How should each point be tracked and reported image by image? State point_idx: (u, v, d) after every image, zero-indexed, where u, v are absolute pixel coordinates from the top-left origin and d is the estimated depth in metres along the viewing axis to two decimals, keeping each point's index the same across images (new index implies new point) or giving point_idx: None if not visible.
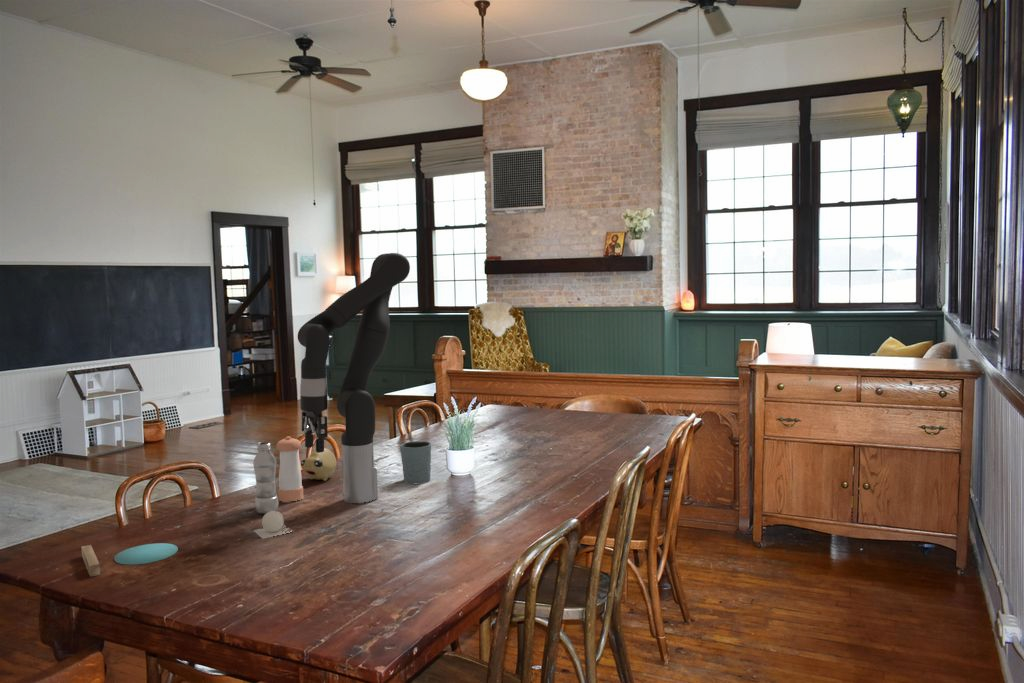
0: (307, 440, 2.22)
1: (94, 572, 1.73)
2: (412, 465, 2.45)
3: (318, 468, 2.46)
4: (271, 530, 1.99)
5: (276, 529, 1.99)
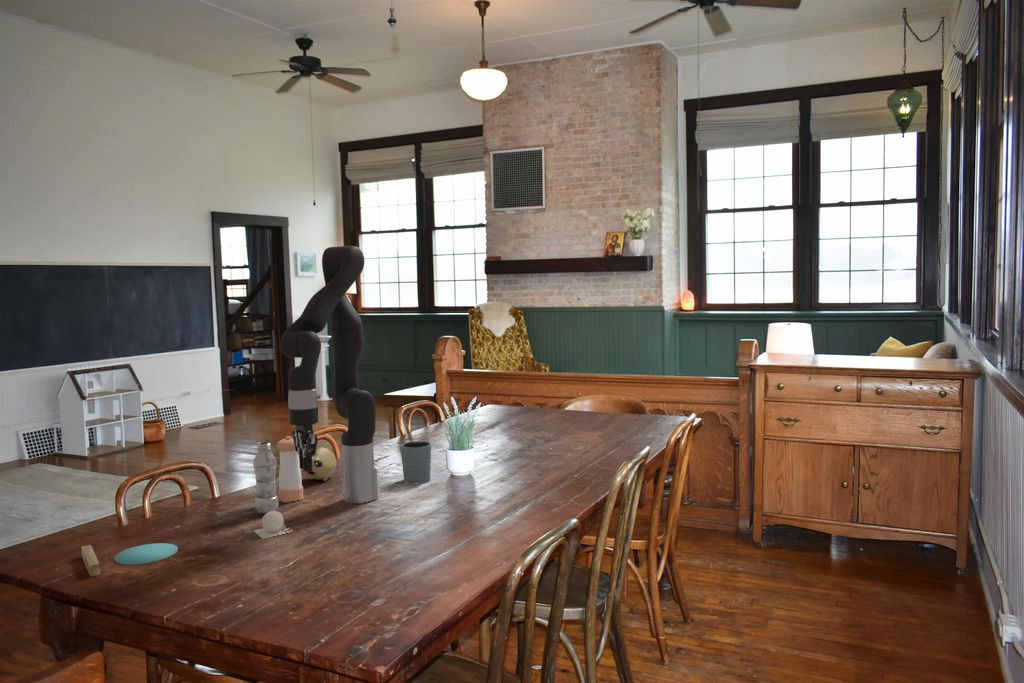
0: (302, 461, 2.05)
1: (94, 572, 1.73)
2: (412, 465, 2.45)
3: (318, 468, 2.46)
4: (271, 530, 1.99)
5: (276, 529, 1.99)
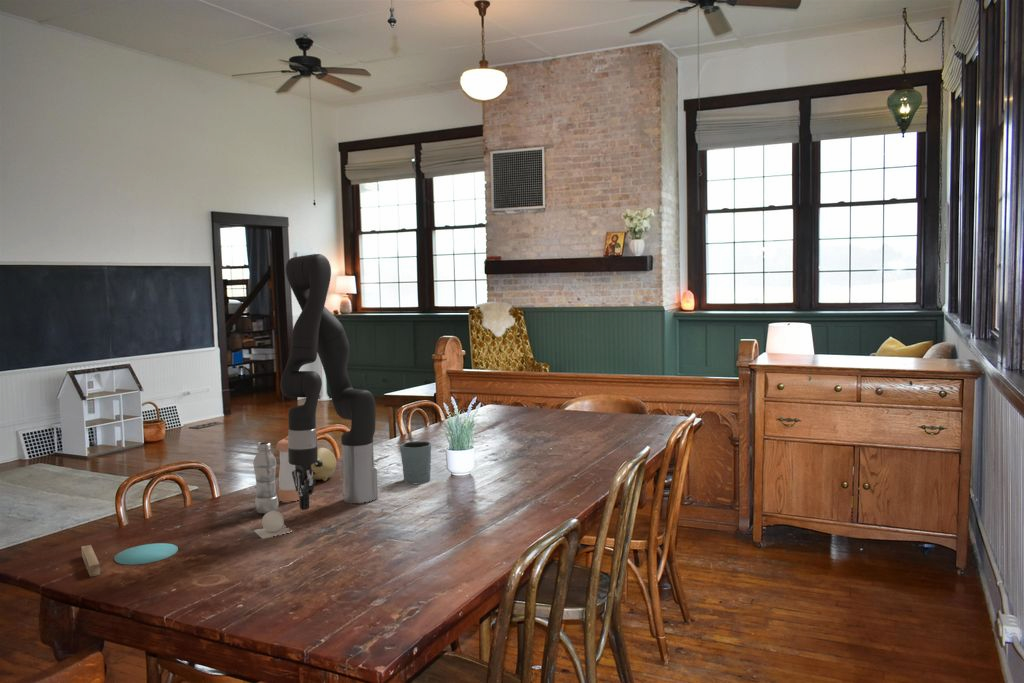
0: None
1: (94, 572, 1.73)
2: (412, 465, 2.45)
3: (318, 468, 2.46)
4: (271, 530, 1.99)
5: (276, 529, 1.99)
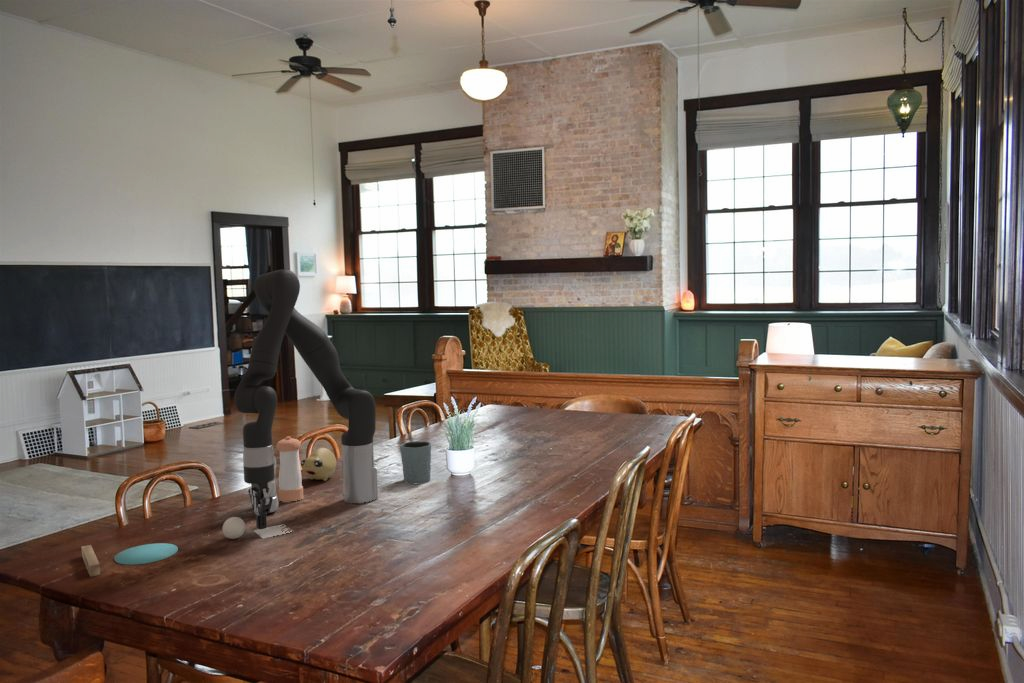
0: None
1: (94, 572, 1.73)
2: (412, 465, 2.45)
3: (318, 468, 2.46)
4: (238, 522, 1.95)
5: (233, 524, 1.94)
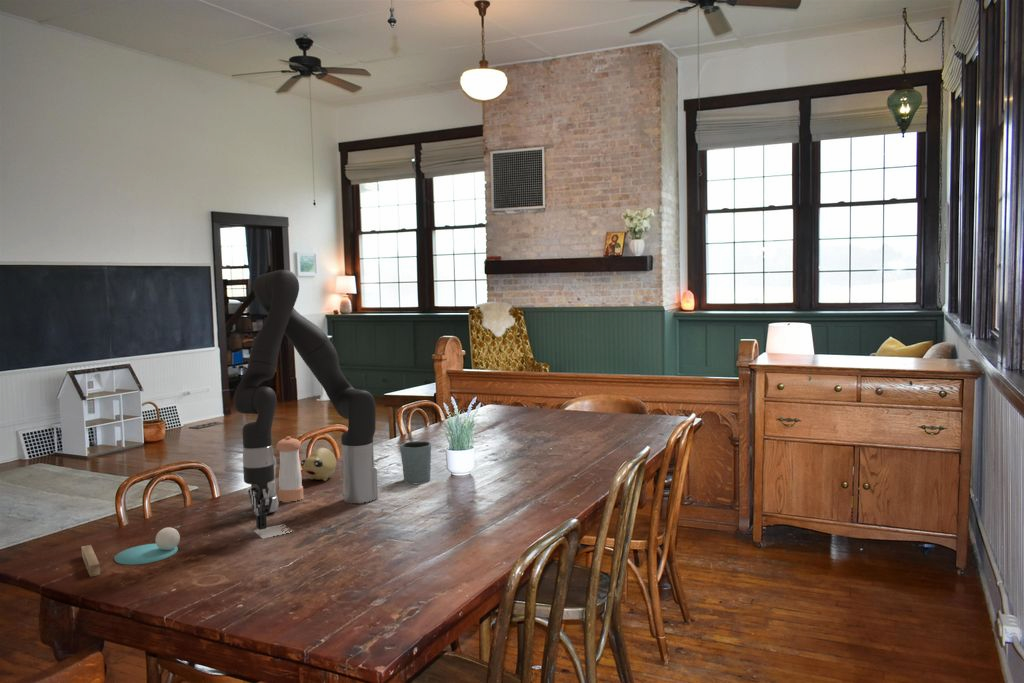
0: None
1: (94, 572, 1.73)
2: (412, 465, 2.45)
3: (318, 468, 2.46)
4: (176, 536, 1.88)
5: (170, 534, 1.87)
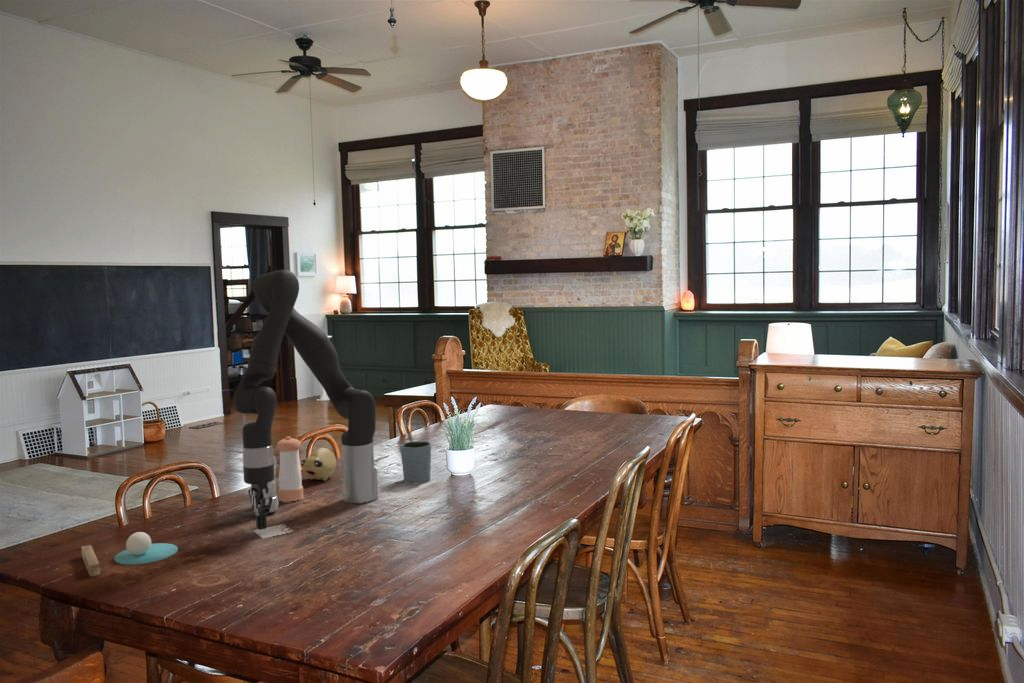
0: None
1: (94, 572, 1.73)
2: (412, 465, 2.45)
3: (318, 468, 2.46)
4: (130, 544, 1.83)
5: (132, 550, 1.83)
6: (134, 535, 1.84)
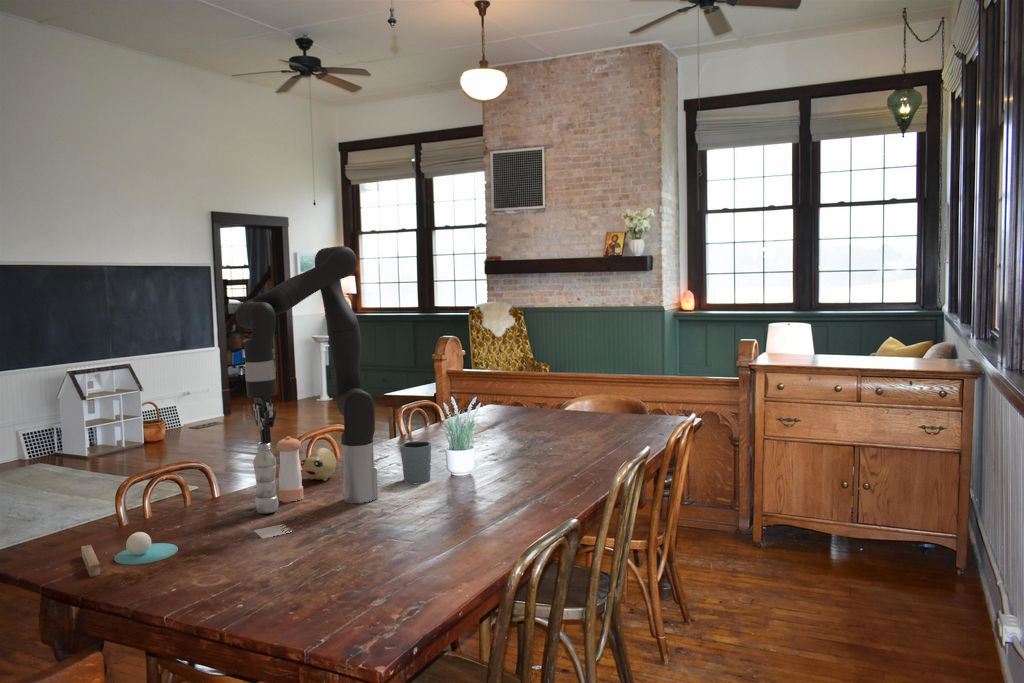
0: None
1: (94, 572, 1.73)
2: (412, 465, 2.45)
3: (318, 468, 2.46)
4: (130, 544, 1.83)
5: (132, 550, 1.83)
6: (134, 535, 1.84)
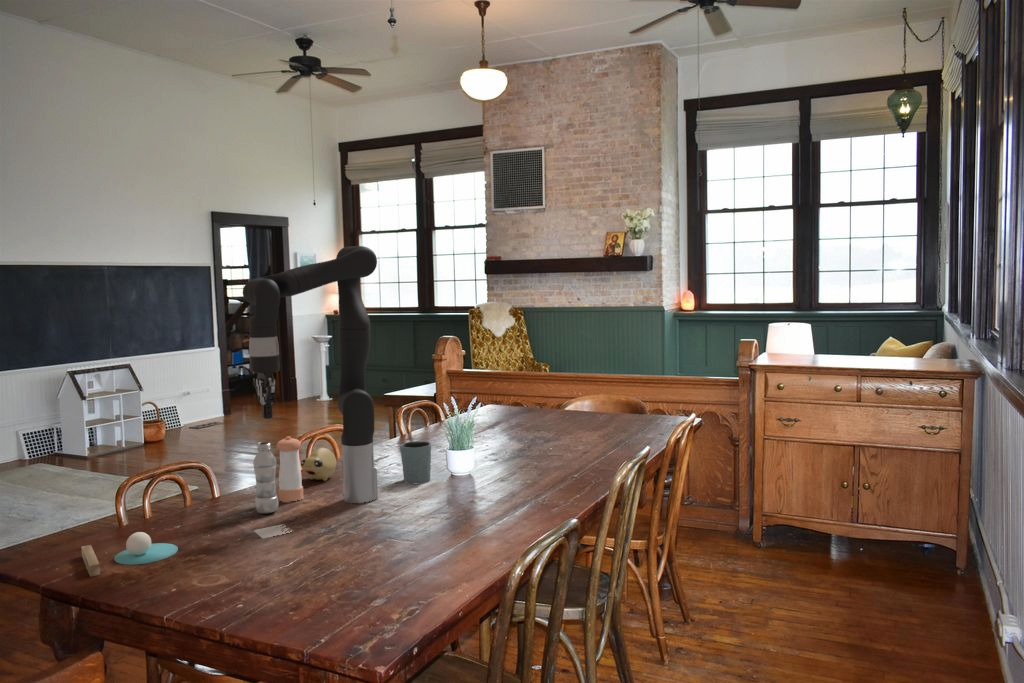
0: None
1: (94, 572, 1.73)
2: (412, 465, 2.45)
3: (318, 468, 2.46)
4: (130, 544, 1.83)
5: (132, 550, 1.83)
6: (134, 535, 1.84)
